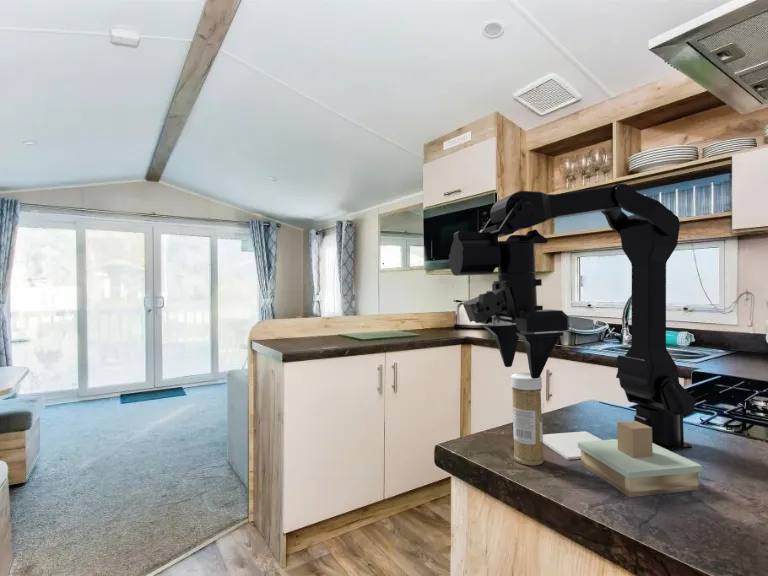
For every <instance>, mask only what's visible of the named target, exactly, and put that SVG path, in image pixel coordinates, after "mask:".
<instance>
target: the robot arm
mask: <svg viewBox="0 0 768 576" xmlns="http://www.w3.org/2000/svg"><path fill="white" fill-rule="evenodd" d="M623 210H624V211H625V212H628V213H630V215H629V216H628V215H627V213H625V212H623ZM598 212H599V213H602V214H603V216H605V220H606V221H607V223H608V226H609V227H610V229H612V230H613V231H614V232H615V233H617V234H618V236H620V242H621V248H622V250H623V252H624V254H625V256H626V257H627V259H628V260H629V261H630V264H631V328H630V329H631V333H630V334H631V336H630V338H631V339H630V340H631V344H630V347H629V349H628V350H627V352H626V353H625V354H624V355H620V354H618V356H617V358H616V363H617V373H616V376H615V378H616V379H618V381H619V385H620V388H621V389H623V391H624V393H625V396H626V398H627V399H626V400H627V401H628V403H633V404H637V405H635V414H634V416H633V417H634V419H633V421H637V422H640V423H642V424H645V425H647V426H649V427H652V443H654V444H656V445H658V446H660V447H662V448H665V449H667V450H669V451H675V450H676V451H677V450H687V449H688V450H689V449H693V445H692V444H690V443H689V442H685V440H684V439H685V437H684V416H687V415H688V414H693V413H694V409H695V406H696V402H697V401H696V399H695V398H694V396H692V395H691V394H690V393H689V392H688V391H687V390H686V389H685V387H683V385H682V384H681V383H680V379H679V378H680V377H679V372H678V366H677V364H676V362H675V360H674V359H673V357H672V356H671V354H670V352H669V351H668V350H667V262H668V260H670V257H671V255H672V254H673V253H674V251H675V249H676V248H677V246H678V241H679V233H680V228H681V224H680V223H681V222H680V219H679V216H677V215H675V214H674V212H673V211H672V210H670V209H669V208H667V207H666V206H665V205H664V204H663V203H662V202H660V201H659V200H658V199H654V198H652V197H649V196H647V195H645V194H642V193H640V192H637V191H636V190H635V189H634V188H632V186H630V185H629V184H627V183H616V184H614V185H613V184H612V185H609V186H602V187H597V188H588V189H583V190H576V191H570V192H568V191H567V192H563V193H555V194H551V193H545V192H543V191H536V190H535V191H533V190H529V191H528V190H519V191H517V192H514V193H512V194H509V195H507V196H505V197H504V198H501V199H499V200H497V201H496V202H494V203H493V205H492V207H491V208H490V213H489V216H490V218H489V219H488V220H487V222H486V224H485V225H484V227H483V228H482V230H481V231H479V232H478V231H477V232H476V231H473V232H471V231H469V230H468V231H467V230H459V231H456V232H454V233H453V241H452V244H451V245H450V246H451V247H450V253H449V254H448V263H449V268H450V271H451V274H453V276H457V277H459V276H486V275H487V276H488V275H492V274H493V273H494V272H495V270H496V268H497V280H494V281H493V283H492V285H491V289H492V290H487V291H486V292H484V293H480V294H479V295H478V296H476V297H474V298H472V299H469V300H467V301H465V302H463V303H462V305H463V308H464V310H465V313H466V315H467V318H468V320H469V322H470V323H472V322H475V324H479V323H480V324H483V325H482V326H483V328H484V329H485V330H487V331H488V332H490V333H491V335H493V336H494V338H495V342H496V344H497V347H498V350H499V351H498V352H500V357H501V360H502V362H503V365H504V368H505V367H506V368H511V367H512V366H513V364H514V360H515V355H516V351H517V347H518V342H519V339H520V340H522V342H524V344H525V345H524V346H525V350H526V356H527V363H528V370H529V373H530V374H531V378H533V379H535V378H539V377H540V376H541V375H542V373H543V371H544V368H545V367H546V364H547V362H548V360H549V358H550V355H551V353H552V351H553V350H554V348H555V347H556V344H557V343H558V341H559V339H560V338H561V337H563V336H564V332H565V331H567V332H568V331H570V323H569V322H570V321H569V315H568V314H566V313H565V312H564V311H563V310H559V309H544V307H543V306H544V305H539V304H538V297H537V295H538V294H537V287H541V286H543V283H542V278H538V279H537V274H536V250H535V248H536V246H539V245H540V246H541V245H543V244H548V241H549V239H548V238H546V237H545V236H544V235H542V234H541V233H539V231H538V230H537V229H535V228H534V229H532V230H528V231H527V232H526V234H515V233H516V232H519V231H522V230H525V229H530V228H531V227H534V226H537V225H540V224H543V223H545V222H547V221H548V222H549V220H550V221H551V220H555V219H560V218H568V217H574V216H581V215H586V214H592V213H593V214H594V213H598ZM505 236H508V237H507V238H506V239H505V240H498V239H500V238H502V237H505Z"/></svg>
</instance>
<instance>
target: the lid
mask: <svg viewBox="0 0 768 576" xmlns="http://www.w3.org/2000/svg"><path fill="white" fill-rule="evenodd" d="M616 429H617V431H616V433H617V438H616V439H615V438H613V439H601V440H600V441H588V442H578V448H579V449H581V450H583V451H584V452H586V453H587V454H589V455H591V456H592V457H594V458H596V459H597V460H599V461H601V462H602V463H604V464H605V465H607V466H609V467H610V468H612V469H614V470H615V471H617V472H619V473H620V474H622V475H623V476H625V477H627V478H628V479H632V478H643V477H653V476H663V475H673V474H684V473H694V472H698V473H701V472H703V465H701V464H699V463H698V462H695V461H693V460H690V459H688V458H686V457H684V456H682V455H680V454H678V453H675V452H673V451H672V450H667V449H665V448H662V447H660V446H658V445H656V444H654V443H652V427H649V426H647V425H645V424H642V423H640V422H637V421H634V420H630V421H628V420H627V421H617V422H616Z"/></svg>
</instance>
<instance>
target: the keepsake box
mask: <svg viewBox="0 0 768 576" xmlns="http://www.w3.org/2000/svg"><path fill="white" fill-rule="evenodd" d="M580 464H581V466H583V468H586V469H587V470H588V471H590V472H591V473H593V474H595V475H596V476H598V477H599V478H600V479H602V480H603V481H605V482H606V483H608V484H609V485H611V486H613V487H614V488H615V489H617V490H619V491H620V492H622V494H624V495H625V496H627V497H628V498H636V497H643V496H646V497H647V496H653V495H664V494H672V493H673V494H674V493H682V492H683V493H684V492H690V491H691V492H692V491H699V472H694V473H684V474H673V475H663V476H653V477H643V478H632V479H628V478H627V477H625V476H623V475H622V474H620V473H619V472H617V471H615V470H614V469H612V468H610V467H609V466H607V465H605V464H604V463H602V462H601V461H599V460H597V459H596V458H594V457H592V456H591V455H589V454H587V453H586V452H584V451H583V450H581V459H580Z"/></svg>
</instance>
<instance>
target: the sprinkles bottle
mask: <svg viewBox="0 0 768 576" xmlns="http://www.w3.org/2000/svg"><path fill="white" fill-rule="evenodd" d="M510 378H511V379H510V385H511V387H512V388H511V390H512V425H513V427H512V429H513V444H514V447H513V449H514V451H513V452H514V454H513V458H514V460H515V461H516V462H517V463H519V464H521V465H526V466H539V465H542V464H543V462H544V461H545V457H544V448H543V446H544V445H543V444H544V443H543V435H544V432H543V420H542V419H543V416H542V415H543V413H542V393H541V392H542V387H543V383H542V382H543V381H542V376H541V375H540V377H539V378H535V379H533V378H531V374H530V372H518V373H512V374H511V376H510Z"/></svg>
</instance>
